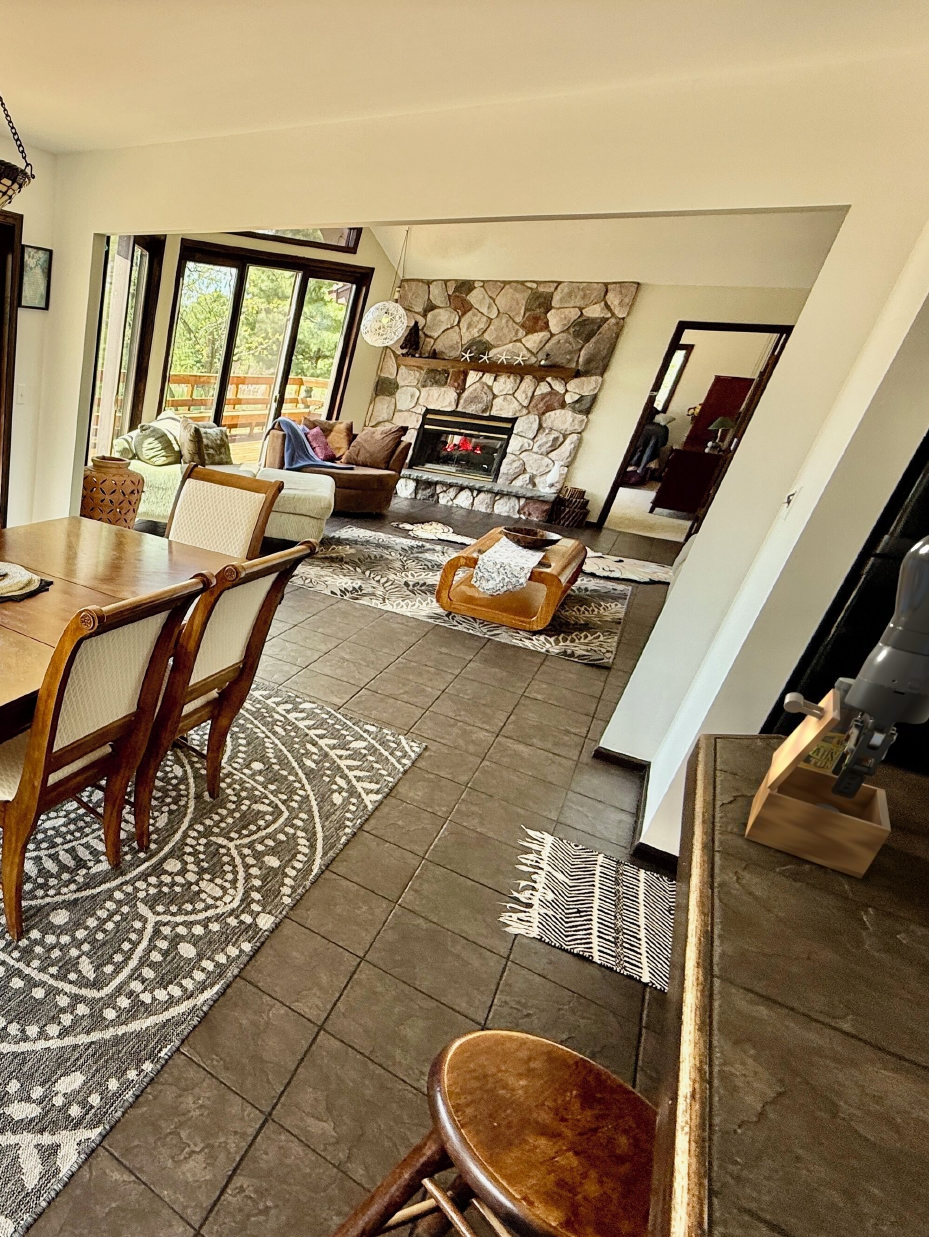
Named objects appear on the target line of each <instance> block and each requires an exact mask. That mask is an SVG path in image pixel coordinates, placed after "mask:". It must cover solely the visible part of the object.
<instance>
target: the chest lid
mask: <svg viewBox="0 0 929 1237" xmlns="http://www.w3.org/2000/svg"><path fill="white" fill-rule="evenodd" d="M783 708H784V709H785V711H787V712H789V713H799V712H800V713H803V714H806V716H807V715H808V716H807V717H806V716H805V718H806V719H805V718H804V720H802V722H801V723H800V724H798V726H797V727H796V728H795V729H794V730H793V732H792V733H791V734H789V736H788V737H787V738H786V739H785V740H784V742H783V743H782V744H781V745H780V746H779V747H778V748H777V749H776V750H775V751H774V752H773V754H772V760H771V765H770V767H771V770H770V775H769V780H768V785H767V788H768V789H770V790H773V791H774V790H775V789H776V788H777V787H778V786H779V785H780V784H781V783H782V782H783V781H784V780H785V779H786V778H787V777H788V775H789V774H790V773H791V772H792V771H793V770H794V769H795V768H796V767H797V766H798V765H799V764H800V763H801V762H802V760H803V759H804V758H805V757H806V756H807V755H808V754H809V753H810V752H811V751H812V750H813V749H814V748H815V747H816V746H817V744H818V743H819V742H820V741H821V740H822V739H823V738H824V737H825V736H826V735H827V734H828V733H829V732H830V731H831V729H832V728H833V727H834V726H835V725H836V724H837V723H838V722H839V721H840V695H839V691H838V690H835V688H831V690H830V691H829V692H828V693H826V695H825V696H824V697H823V698H822V699H821V701H820V702H818V704H816V703H815V702H814V703H813V702H811V701H808V700H806V699H804V696H803V695H802V694H801V693H799V692H790V693H787V694H786V695H785V698H784V704H783Z"/></svg>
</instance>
